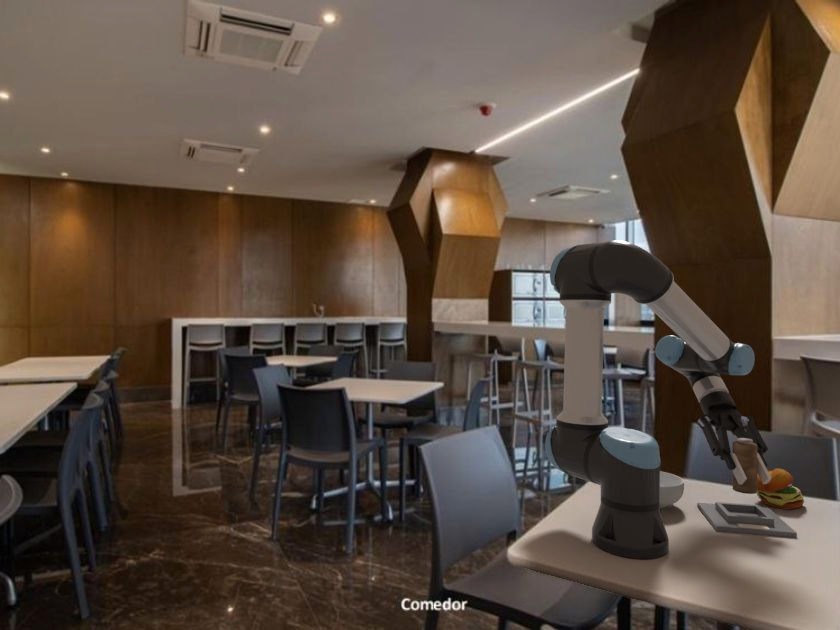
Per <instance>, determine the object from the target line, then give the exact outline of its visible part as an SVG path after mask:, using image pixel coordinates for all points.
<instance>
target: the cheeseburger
mask: <svg viewBox="0 0 840 630" xmlns="http://www.w3.org/2000/svg"><path fill="white" fill-rule="evenodd" d="M767 470H768V469H767ZM768 472H769V474H770V476H771V479H770V480H769V482H768V483H767V484H763V483H762V481H761V479H760V477H759V475H758V473H757V493H756V496H757V497H758V499H760V501H761V502H762V503H764V504H765V505H767V506H769V507H772V508H777V509H781V510H782V509H783V510H790V509H797V508H800V507H802V506H803V505H804V504H805V499H804V496H803V495H802V493H801V492H802V491H801V490H800V489H799V488H798V487H796V486H793V484H792V483H793V481H794V477H793V476H792V475H791V473H789V472H788V471H787V470H785V469H782V468H774V469H769V470H768Z"/></svg>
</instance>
